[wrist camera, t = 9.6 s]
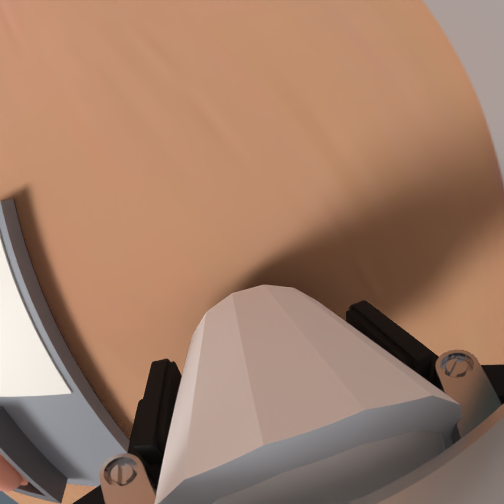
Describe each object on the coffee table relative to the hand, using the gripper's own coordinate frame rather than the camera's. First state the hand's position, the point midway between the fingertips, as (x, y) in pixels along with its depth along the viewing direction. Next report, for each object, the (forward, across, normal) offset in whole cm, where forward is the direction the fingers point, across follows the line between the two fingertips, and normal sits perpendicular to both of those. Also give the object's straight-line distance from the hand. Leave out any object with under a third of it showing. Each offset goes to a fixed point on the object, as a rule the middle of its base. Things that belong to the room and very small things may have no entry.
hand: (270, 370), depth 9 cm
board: (+3, +16, 0) cm, 16 cm away
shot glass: (+1, 0, 0) cm, 1 cm away
